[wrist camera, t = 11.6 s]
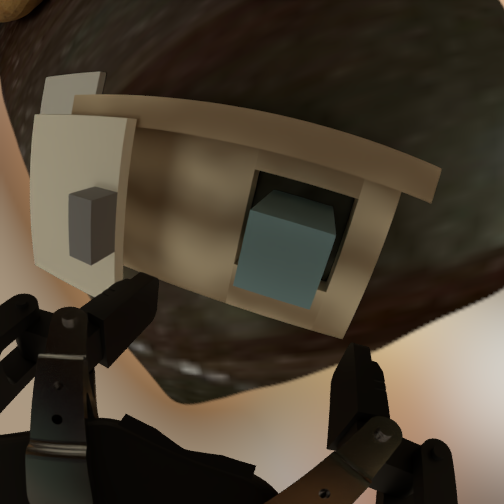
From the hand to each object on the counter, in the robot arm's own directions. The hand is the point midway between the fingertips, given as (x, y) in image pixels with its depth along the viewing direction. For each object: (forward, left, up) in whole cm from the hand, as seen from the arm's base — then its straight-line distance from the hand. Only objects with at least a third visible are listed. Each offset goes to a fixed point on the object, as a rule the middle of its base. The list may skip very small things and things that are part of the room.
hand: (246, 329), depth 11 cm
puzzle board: (0, -5, -15) cm, 15 cm away
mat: (-6, -27, -15) cm, 31 cm away
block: (0, 0, -15) cm, 15 cm away
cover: (0, -15, -6) cm, 16 cm away
